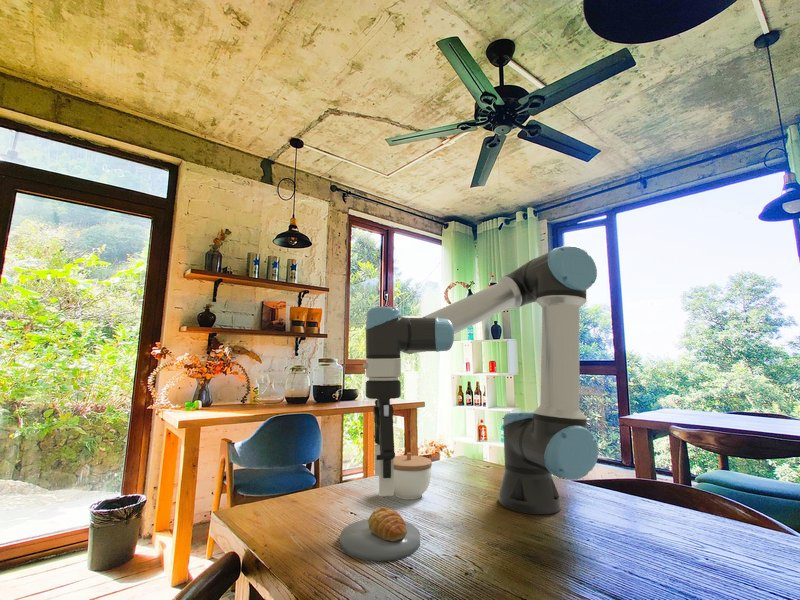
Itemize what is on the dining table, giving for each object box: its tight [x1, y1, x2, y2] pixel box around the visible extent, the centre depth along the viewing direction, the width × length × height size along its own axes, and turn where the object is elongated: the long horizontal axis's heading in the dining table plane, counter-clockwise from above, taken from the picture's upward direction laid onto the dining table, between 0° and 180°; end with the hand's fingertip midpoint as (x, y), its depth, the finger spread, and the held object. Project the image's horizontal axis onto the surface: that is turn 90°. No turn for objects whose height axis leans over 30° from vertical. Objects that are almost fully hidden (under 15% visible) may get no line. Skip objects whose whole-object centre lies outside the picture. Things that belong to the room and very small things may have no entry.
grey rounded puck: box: [339, 518, 421, 562], centre depth 78 cm, size 16×16×2 cm
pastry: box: [368, 506, 407, 541], centre depth 78 cm, size 9×7×4 cm
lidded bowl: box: [393, 452, 433, 501], centre depth 108 cm, size 13×13×11 cm
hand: (383, 484), depth 80 cm, fingers open, 13 cm apart
